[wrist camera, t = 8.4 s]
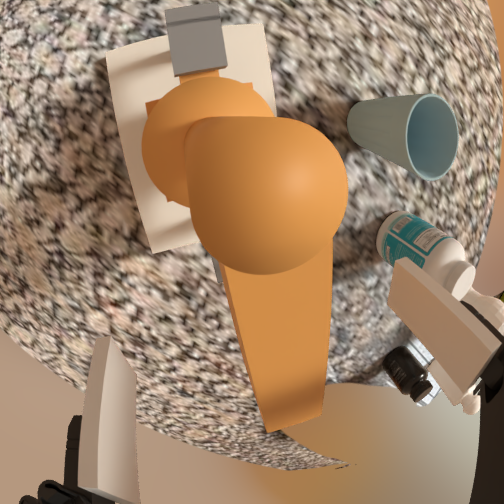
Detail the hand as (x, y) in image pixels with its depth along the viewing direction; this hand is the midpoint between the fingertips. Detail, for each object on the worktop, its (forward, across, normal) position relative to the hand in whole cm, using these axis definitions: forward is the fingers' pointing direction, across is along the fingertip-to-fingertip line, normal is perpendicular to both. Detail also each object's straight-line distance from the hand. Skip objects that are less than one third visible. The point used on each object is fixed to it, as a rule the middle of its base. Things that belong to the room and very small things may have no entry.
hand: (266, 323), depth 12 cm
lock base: (+18, 0, +6) cm, 19 cm away
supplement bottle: (+18, +30, -41) cm, 53 cm away
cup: (+18, +18, +5) cm, 26 cm away
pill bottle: (+18, +23, -10) cm, 31 cm away
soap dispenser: (+18, +51, -57) cm, 78 cm away
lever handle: (+13, 0, +5) cm, 14 cm away
